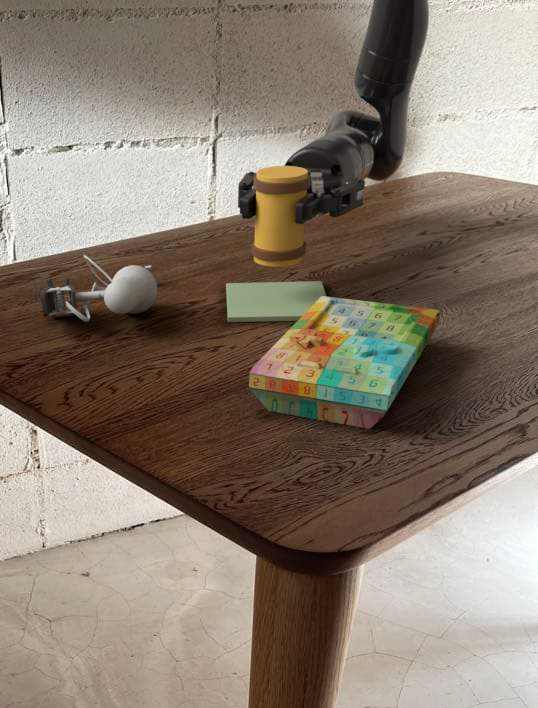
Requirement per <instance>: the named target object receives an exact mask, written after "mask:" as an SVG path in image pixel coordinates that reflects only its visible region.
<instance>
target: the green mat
mask: <svg viewBox="0 0 538 708" xmlns="http://www.w3.org/2000/svg"><path fill="white" fill-rule="evenodd" d="M225 293H226V311H227V313H226V315H227V323H257V322H258V323H264V322H297V321H298V320H299V319H300V318H301V317H302V316H303V315H304V314H305V313H306V312H307V311H308V310H309V309H310V308H311V307H312V306H313V305H314V304H315V303H316V301H317V300H318V299H319V298H320V297H321V296H326V297H327V293H326V291H325V287H324V285H323V282H322V281H321V280H316V281H313V280H311V281H310V280H309V281H308V280H307V281H269V282H266V281H265V282H264V281H263V282H229V283H228V282H226V284H225Z"/></svg>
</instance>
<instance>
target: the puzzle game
mask: <svg viewBox="0 0 538 708" xmlns="http://www.w3.org/2000/svg"><path fill="white" fill-rule="evenodd" d="M441 313H442V311H441V310H440V309H434V308H425V307H417V306H409V305H401V304H394V303H393V304H391V303H385V302H376V301H368V300H358V299H350V298H342V297H334V296H327V295H326V296H321V297H320V298H319V299H318V300H317V301H316V303H315V304H314V305H313V306H312V307H311V308H310V309H309V310H308V311H307V312H306V313H305V314H304V315H303V316H302V317H301V318H300V319H299V320H298V321H295V323H294V324H293V325H292V326H291V327H290V328H289V329H288V330H287V331H286V332H285V333H284V334H283V335H282V336H281V338H279V339H278V341H277V342H275V343H274V345H273V346H272V347H270V349H269V350H268V351H267V352H266V353H265V354H264V355H263V356H262V357H261V358H260V359H259V360H258V361H257V362H256V363H255V364H254V365H253V366H252V368H251V370H250V371H249V372H248V389H249V390H250V391H251V392H252V394H253V395H254V396H255V397H256V398H257V400H259V401H260V403H261V405H263V406H264V408H265V409H266V410H267V411H269V412H273V413H278V414H285V415H289V416H295V417H300V418H306V419H313V420H317V421H323V422H329V423H333V424H339V425H340V424H341V425H345V426H350V427H351V426H352V427H356V428H357V427H358V428H363V429H368V430H369V429H371V428H372V427H374V426H375V425H376V424H378V422H380V421H381V420H382V419H383V418H384V416H385V415H386V414H387V412H388V410H389V408H390V407H391V406H392V404H393V402H394V400H395V399H396V397H397V395H398V393H399V392H400V390H401V388H402V387H403V385H404V383H405V382H406V380H407V378H408V376H409V375H410V373H411V371H412V370H413V368H414V367H415V365H416V363H417V361H418V360H419V358H420V356H421V355H422V353H423V351H424V350H425V348H426V346H427V344H428V343H429V341H430V340H431V338H432V337H433V335H434V333H435V331H436V329H437V328H438V326H439V324H440V320H441Z"/></svg>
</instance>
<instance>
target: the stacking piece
mask: <svg viewBox="0 0 538 708" xmlns="http://www.w3.org/2000/svg"><path fill="white" fill-rule="evenodd" d="M256 173H257V175H255V176H254V181H253V188H254V189H255V190H256V211H255V216H254V240H253V241H252V242H251V248H250V249H251V250H250V251H251V255H252V256H253V261H254V262H255V263H256V264H258V265H260V266H263V267H271V268H283V267H284V268H285V267H291V266H295V265H298V264H300V263H302V261H303V259H304V258H303V257H304V256H305V255H306V252H307V242H306V241H305V224H306V222H305V223H304V224H296V223H295V217H296V205H297V202H298V201H299V200H300V199H302V198H303V197H304V196H306V195H307V189H308V188H309V187H310V179H311V176H310V175H309V174H308V171H307V170H306V169H304V168H301V167H295V166H284V165H274V166H273V165H272V166H267V167H262V168H260V169H258V170H257V171H256Z"/></svg>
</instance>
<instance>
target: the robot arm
mask: <svg viewBox="0 0 538 708" xmlns="http://www.w3.org/2000/svg"><path fill="white" fill-rule="evenodd" d="M429 21H430V5H429V0H373V2H372V7H371V11H370V16H369V20H368V24H367V28H366V30H365V35H364V39H363V42H362V47H361V50H360V54H359V57H358V61H357V65H356V68H355V73H354V76H353V82H352V87H353V90H354V93H355V94H356V95H357V96H358V97H359V98H360V99H361V100H363V101H364V102H366V103H367V104H368V105H370V106H371V107H373V108H374V109H375V110H376V111H377V113H378V115H379V117H378V116H375V115H372V114H369V113H366V112H363V111H360V110H358V109H357V110H356V109H342V110H340V111H338V112H337V113H336V114H334V116H333V117H332V118H331V120H330V122H329V123H328V126H327V128H326V130H325V134H324V135H323V136H320V137H319V138H316V139H314V140H312V141H311V142H310V143H308V144H306V145H305V146H303V147H302V148H300V149H298V150H297V151H295V152H294V153H293V154H291V156H290V157H289V158H288V159H287V160H286V162H285V164H284V165H283V166H295V167H301V168H304V169H306V170H307V171H308V174H309V175H310V176H311V179H310V187H309V188H308V189H307V195H306V196H304V197H303V198H302V199H300V200H299V201H298V202H297V205H296V217H295V223H296V224H304V223H305V224H306V222H307V221H310V220H313V219H314V218H319V217H322V216H323V215H326V214H327V213H328V214H329V215H328V216H329V217H332V218H337V217H341V216H343V215H345V214H347V213H349V212H352V211H354V210H355V209H358V208H359V207H362V206H363V205H364V197H365V186H366V179H369V180H372V181H377V182H383V181H385V180H388V179H389V178H391V177H392V176H393V175H394V174H396V173H397V171H398V170H399V168H400V167H401V165H402V164H403V161H404V157H405V153H406V149H407V141H408V140H407V138H408V116H409V115H408V113H409V102H410V97H411V90H412V86H413V82H414V79H415V76H416V74H417V70H418V67H419V63H420V60H421V57H422V55H423V51H424V48H425V46H426V45H425V44H426V41H427V37H428V31H429V23H430V22H429ZM255 175H257V172H255V171H249V172H246V173H245V175H244V176H243V177H242V178H241V180H240V181H239V183H238V185H237V186H238V189H237V208H238V209H239V215H241V217H242V219H244V220H250V219H253V217H255V211H256V190H255V189H254V188H253V181H254V176H255Z"/></svg>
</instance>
